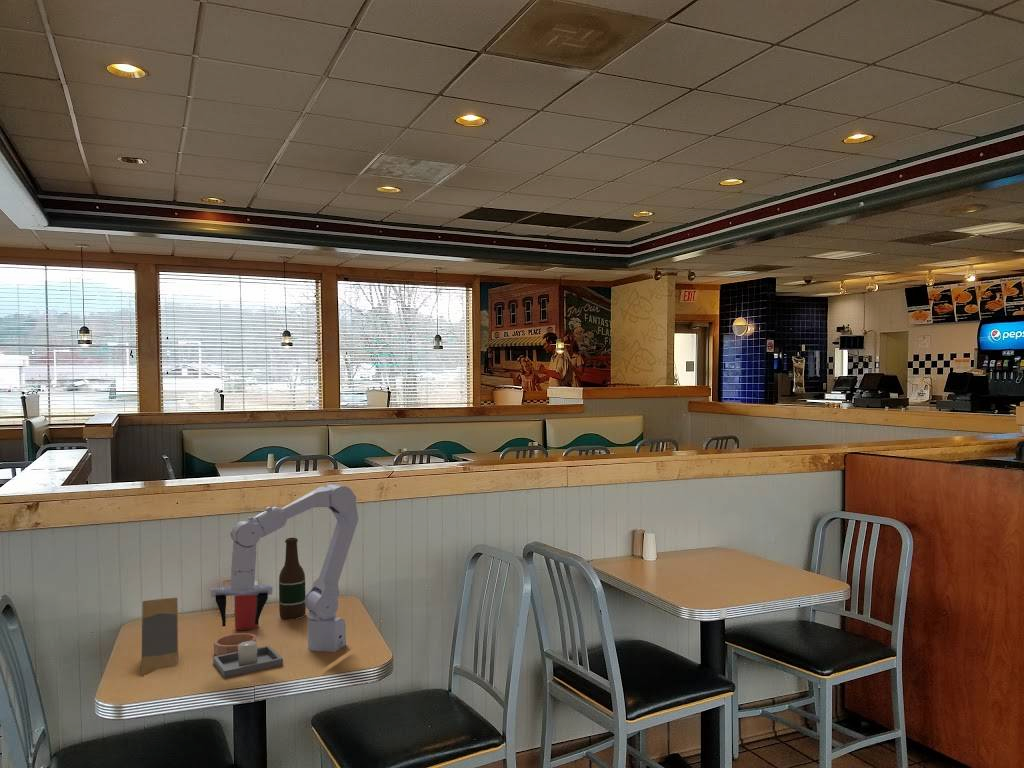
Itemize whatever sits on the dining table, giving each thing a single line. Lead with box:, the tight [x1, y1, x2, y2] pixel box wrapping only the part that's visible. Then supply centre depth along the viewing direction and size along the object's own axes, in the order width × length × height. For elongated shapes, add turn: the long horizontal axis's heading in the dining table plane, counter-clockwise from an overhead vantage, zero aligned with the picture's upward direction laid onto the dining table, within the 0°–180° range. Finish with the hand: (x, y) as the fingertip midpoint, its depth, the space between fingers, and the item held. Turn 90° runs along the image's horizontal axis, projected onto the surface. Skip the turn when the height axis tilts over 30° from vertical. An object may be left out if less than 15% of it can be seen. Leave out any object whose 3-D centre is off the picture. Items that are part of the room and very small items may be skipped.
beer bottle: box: [278, 537, 307, 620], centre depth 230 cm, size 8×8×24 cm
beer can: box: [234, 595, 260, 632], centre depth 220 cm, size 7×7×12 cm
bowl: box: [213, 632, 258, 656], centre depth 197 cm, size 10×10×4 cm
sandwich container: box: [140, 597, 179, 677], centre depth 191 cm, size 9×15×15 cm, turn 24°
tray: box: [212, 645, 284, 679], centre depth 187 cm, size 14×12×3 cm
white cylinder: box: [238, 641, 258, 667], centre depth 187 cm, size 4×4×5 cm
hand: (240, 624), depth 188 cm, fingers open, 7 cm apart
